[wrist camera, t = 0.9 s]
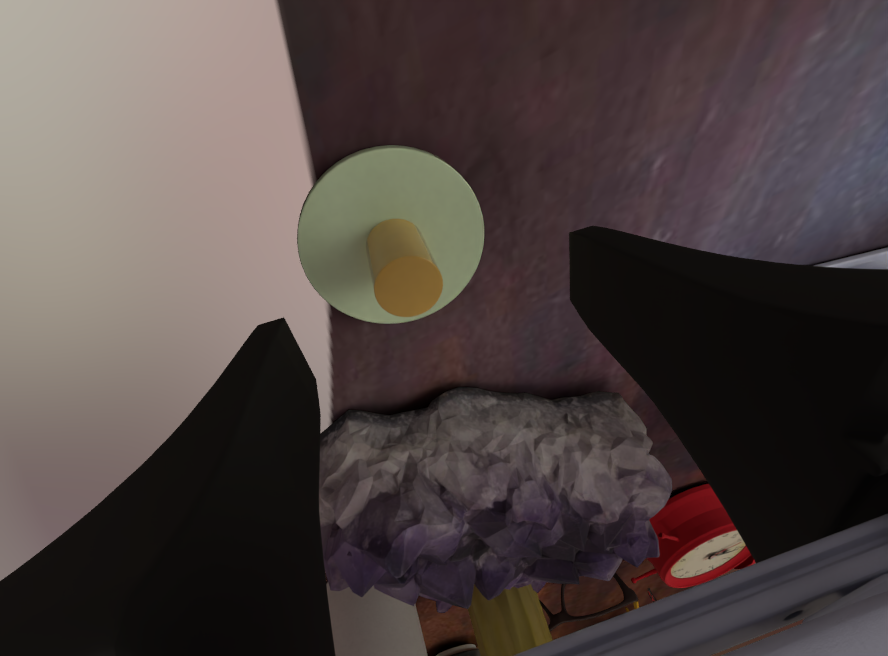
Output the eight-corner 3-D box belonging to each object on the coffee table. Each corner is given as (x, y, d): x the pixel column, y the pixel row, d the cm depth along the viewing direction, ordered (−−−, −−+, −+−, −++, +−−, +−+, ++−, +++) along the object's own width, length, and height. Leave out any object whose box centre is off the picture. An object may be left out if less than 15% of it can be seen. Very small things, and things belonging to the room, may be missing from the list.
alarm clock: (667, 533, 33) (858, 540, 34) (637, 465, 38) (802, 472, 39) (626, 599, 39) (790, 604, 39) (604, 532, 44) (749, 538, 45)
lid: (483, 291, 21) (516, 347, 18) (328, 327, 20) (329, 393, 17) (469, 124, 17) (510, 153, 13) (270, 162, 16) (255, 203, 12)
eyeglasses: (614, 553, 41) (639, 597, 38) (626, 606, 50) (647, 646, 47) (475, 611, 41) (488, 660, 38) (511, 654, 50) (524, 697, 47)
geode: (309, 519, 28) (295, 703, 20) (314, 365, 24) (299, 518, 15) (586, 502, 34) (673, 641, 25) (636, 373, 29) (767, 490, 20)
